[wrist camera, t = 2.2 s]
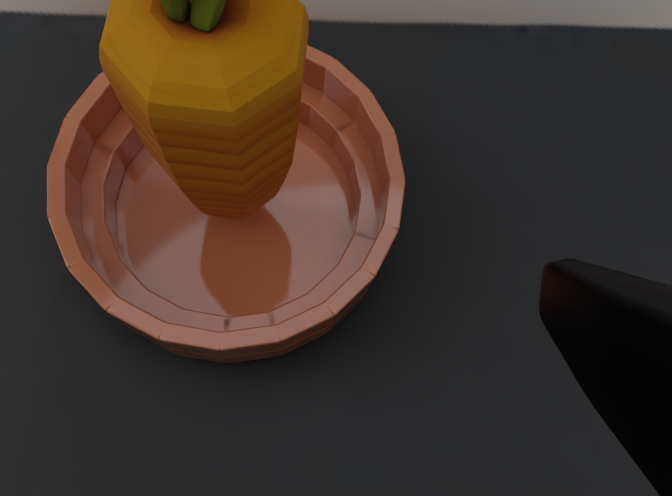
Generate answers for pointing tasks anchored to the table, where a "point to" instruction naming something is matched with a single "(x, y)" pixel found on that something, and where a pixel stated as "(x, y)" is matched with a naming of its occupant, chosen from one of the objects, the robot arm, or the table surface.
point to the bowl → (230, 226)
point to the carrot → (211, 92)
